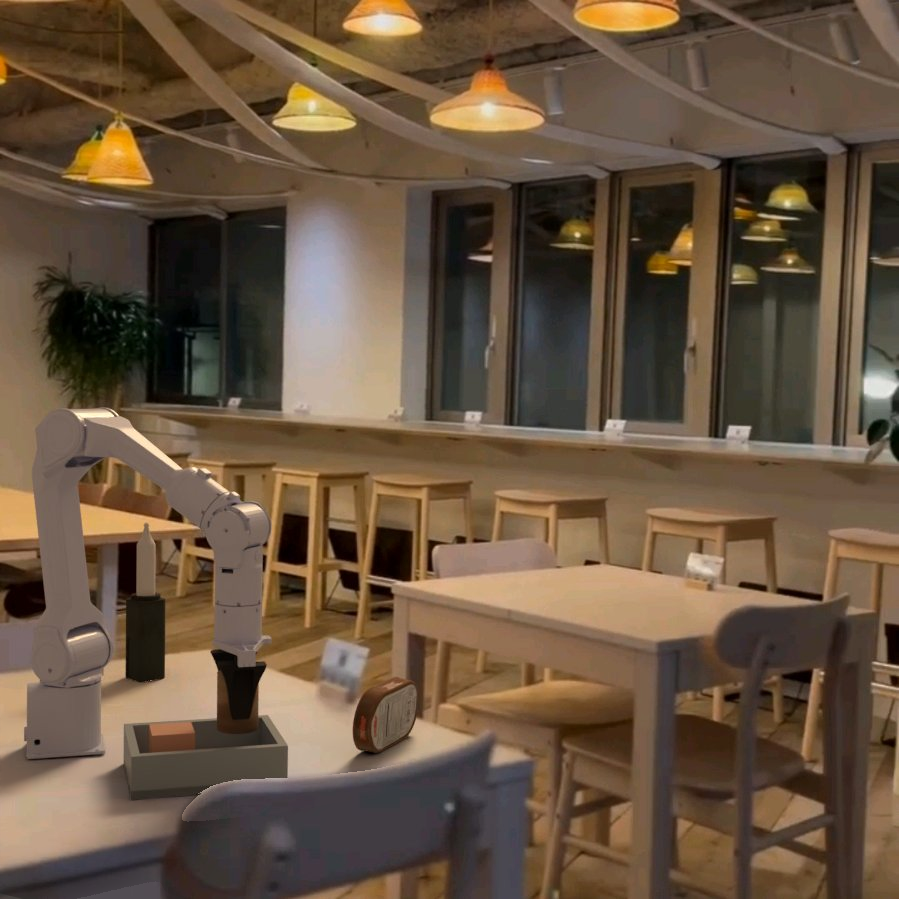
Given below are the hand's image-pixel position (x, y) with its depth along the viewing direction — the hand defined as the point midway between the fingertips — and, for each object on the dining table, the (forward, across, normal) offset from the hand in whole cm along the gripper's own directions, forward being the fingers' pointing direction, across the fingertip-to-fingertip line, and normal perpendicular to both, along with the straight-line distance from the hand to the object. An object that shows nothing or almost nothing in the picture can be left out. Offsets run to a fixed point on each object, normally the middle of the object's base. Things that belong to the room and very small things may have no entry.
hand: (237, 712), depth 152 cm
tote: (+7, 0, +4) cm, 8 cm away
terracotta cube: (+6, 0, +8) cm, 10 cm away
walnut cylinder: (+2, 0, 0) cm, 2 cm away
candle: (+8, +52, +7) cm, 53 cm away
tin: (+8, +7, -21) cm, 23 cm away
